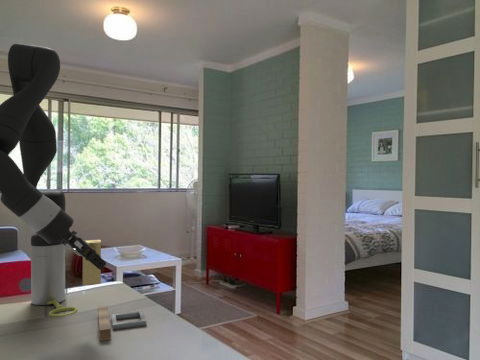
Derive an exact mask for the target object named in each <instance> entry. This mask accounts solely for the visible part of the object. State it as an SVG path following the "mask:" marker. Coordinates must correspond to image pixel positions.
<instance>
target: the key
mask: <svg viewBox="0 0 480 360" xmlns="http://www.w3.org/2000/svg"><path fill="white" fill-rule="evenodd" d="M47 304H49V305H53V306H54V307H55V309H52V310H50V311H49V312H48V316H49V317H50V318H51V317H52V318H60V317H61V318H62V317H66V316H70V314H71V315H73V313H74V314H76V313H78V308H77V307H75V306H66V307H65V306H64V305H62V304H60V302H59V303H58V302H57V300H56V299H53V300H52V301H49V302H47ZM68 310H69V312H67V311H68ZM61 312H62V314H61ZM63 312H67V313H63ZM75 312H76V313H75ZM58 313H60V314H58Z"/></svg>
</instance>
